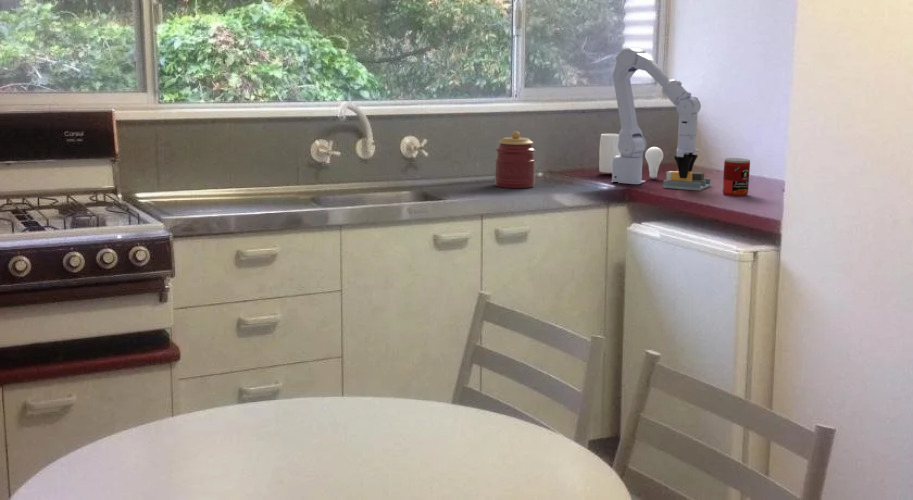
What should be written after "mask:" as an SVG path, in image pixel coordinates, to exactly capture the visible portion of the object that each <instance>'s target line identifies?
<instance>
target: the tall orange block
mask: <svg viewBox="0 0 913 500" xmlns="http://www.w3.org/2000/svg"><path fill="white" fill-rule="evenodd" d="M692 172H693V170H692V171H688V175H687V178H680V176H679V170H675V171H674V170H669V171H666V180H671V181H684V182H692Z"/></svg>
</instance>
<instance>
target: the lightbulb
mask: <svg viewBox="0 0 913 500" xmlns="http://www.w3.org/2000/svg"><path fill="white" fill-rule="evenodd" d="M644 154H645V156H644V157H645V160H646V162H647V165H648V172H649V178H651V179H652V180H653V179H656V178H657V177H658V171H659V168H660V165H661V164H662V161H663V159H664V152H663V151H662V149H661V148H660V147H657V146H652V147H649V148H648V149H646V151H645V153H644Z"/></svg>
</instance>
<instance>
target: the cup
mask: <svg viewBox="0 0 913 500" xmlns="http://www.w3.org/2000/svg"><path fill="white" fill-rule="evenodd" d="M618 142H619V133H601V134H600V138H599V155H598V157H599V158H598V159H599V161H598V162H599V165H598V167H599V168H598V169H599V172H600V173H607V174H612V167H613V159H614V157H615V156H621V153H620V152H619V150H618Z"/></svg>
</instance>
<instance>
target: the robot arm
mask: <svg viewBox="0 0 913 500" xmlns="http://www.w3.org/2000/svg"><path fill="white" fill-rule="evenodd" d="M615 59H616V60H615V61H616V63H615V66H614V70H613V73H612V78H613V85H614V92H615V97H616V103H617V111H618V115H619V120H620V121H619V122H620V127H621V128H620V130H619V133H618V134H619V142H618V150H619V152H620V153H621V156H615V157H614V159H613V167H612V173H611V183H613V182H618V183H617V184H628V185H629V184H630V185H640V184H643V183H646V180H642V178H643V174H642V173H643V161H644V160H643V159H644V157H643V156H644V154H643V153H644V152H646V151H645V150H647V149H646V148H647V144H648V143H647V140H646V138H645V137H644V136H643V131H642V129H641V128H640V126H639V125H638V119H637V112H636V107H635V101H634V96H633V90H632V83H631V82H632V81H631V78H632V77H633V76H634V74H635V73H636V71H638V70H641V71H644V72H646V73H647V74H648V75H649V76H650V77H652V78H653V79H654V80H655V81H656V82H657V83H658V84H659V85H660V86H661V87H662V88H661V89H662V94H663V95H664V96H666V97H667V99H668V100H669V101H670V102H671V103H672V104H673V105H674V106H675V109H676V112H677V113H678V115H679V116H678V128H677V129H678V130H677V131H678V132H677V148H676V155H674V160H675V162H676V166H677V169H678V170H677V171H679V176H680V178H687V175H688V171H692V172H693V167H694V165H695V162H696V160H697V159H698V154H696V153H699V152H700V149H697V147H696V146H697V131H698V129H697V127H698V113H699V112H700V111H701V107H702V106H701V101H700V100H699V98H698V97H696V96H693V94H692V93H691V92H690V91H687V90H686V89H685V87H684V86H682V84H683V83H682V81H680V80H676V79H670V77H669V76H668V75H667V74H666V73H665V72H664V70H663V69H662V68H661V67H660V66H659V65H658V64H657V63H656V61H655V59H653V57H652V56H651V55H650V54H649V53H648V52H647V51H646V50H645V49H644V48H642V47H636V48H631V47H625V48H622V49H621V50H620V51H619V53H618V54H617V55H616V57H615Z"/></svg>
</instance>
